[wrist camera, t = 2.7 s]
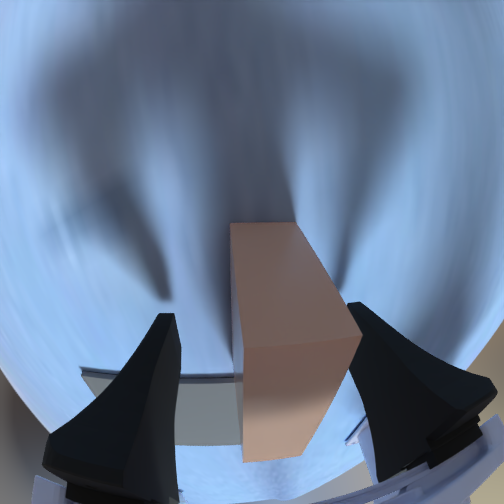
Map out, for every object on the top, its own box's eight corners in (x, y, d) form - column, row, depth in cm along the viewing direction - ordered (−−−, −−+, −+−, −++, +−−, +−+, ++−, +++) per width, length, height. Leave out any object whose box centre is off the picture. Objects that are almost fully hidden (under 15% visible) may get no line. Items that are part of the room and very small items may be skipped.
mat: (254, 376, 15) (255, 381, 14) (250, 440, 20) (250, 443, 20) (82, 370, 14) (80, 375, 13) (132, 437, 19) (131, 441, 19)
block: (299, 221, 10) (368, 334, 5) (280, 357, 14) (304, 454, 9) (229, 222, 10) (243, 348, 5) (232, 360, 14) (242, 462, 9)
